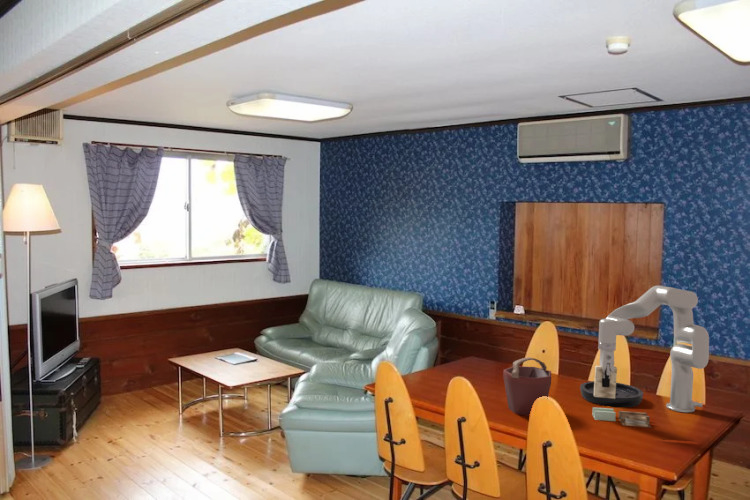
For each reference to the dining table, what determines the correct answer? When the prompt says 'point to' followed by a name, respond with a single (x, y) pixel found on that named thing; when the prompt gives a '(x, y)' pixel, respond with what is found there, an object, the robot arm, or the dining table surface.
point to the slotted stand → (604, 414)
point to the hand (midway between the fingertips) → (605, 385)
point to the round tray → (623, 395)
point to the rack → (626, 415)
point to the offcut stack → (636, 421)
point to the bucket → (525, 385)
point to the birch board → (598, 389)
